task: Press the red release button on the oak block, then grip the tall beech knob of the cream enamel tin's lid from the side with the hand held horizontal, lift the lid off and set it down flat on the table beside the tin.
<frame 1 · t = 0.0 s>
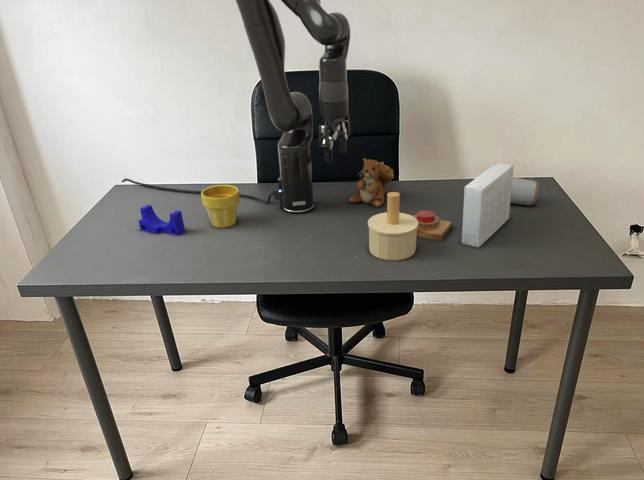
hand: (335, 157, 151), 17 cm above the table, tool pointing down, fingers open, 8 cm apart
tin: (392, 249, 139), on the table
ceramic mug: (520, 202, 164), on the table
skincare box: (484, 231, 148), on the table
flower pot: (224, 223, 156), on the table
button block: (425, 230, 149), on the table
blue cradle stand: (162, 231, 152), on the table
button: (425, 216, 147), point 4 cm above the table, slide at 0.1 cm
stuffed squirrel: (373, 199, 169), on the table
lid: (392, 224, 136), point 7 cm above the table, touching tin
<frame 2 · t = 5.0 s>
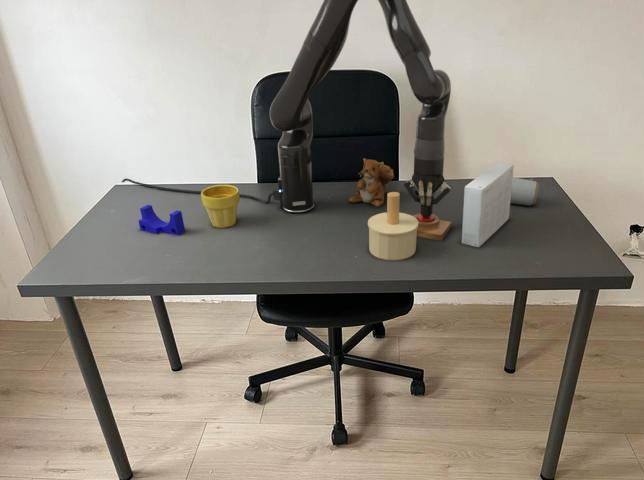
hand: (426, 216, 147), 4 cm above the table, tool pointing down, fingers closed
button: (425, 219, 147), point 3 cm above the table, slide at -0.8 cm, touching gripper
everything else where it was.
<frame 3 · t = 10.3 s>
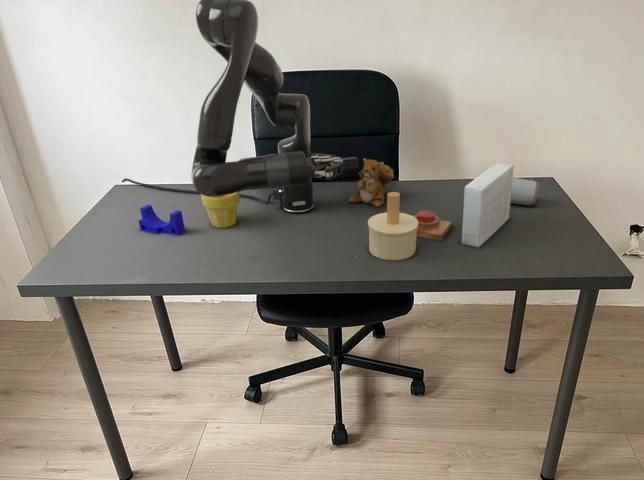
hand: (357, 162, 126), 24 cm above the table, tool horizontal, fingers closed
button: (425, 216, 147), point 4 cm above the table, slide at 0.1 cm
everything else where it was.
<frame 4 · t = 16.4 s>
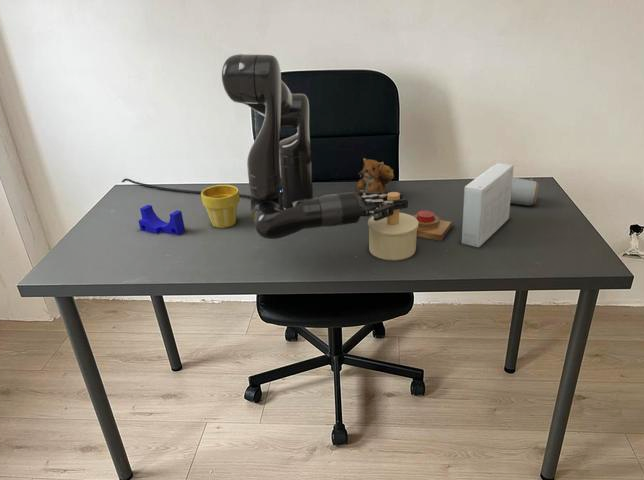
hand: (404, 200, 134), 13 cm above the table, tool horizontal, fingers closed on lid, 3 cm apart
lid: (392, 224, 136), point 7 cm above the table, touching gripper, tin
everything else where it was.
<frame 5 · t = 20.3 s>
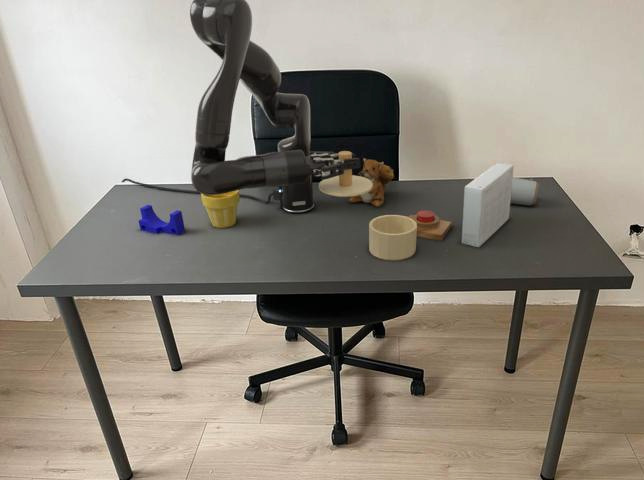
hand: (357, 160, 125), 25 cm above the table, tool horizontal, fingers closed on lid, 3 cm apart
lid: (345, 186, 127), point 19 cm above the table, touching gripper
everything else where it was.
when the fingers open (7 cm above the table, at t = 24.6 s): lid stays where it is, point 1 cm above the table.
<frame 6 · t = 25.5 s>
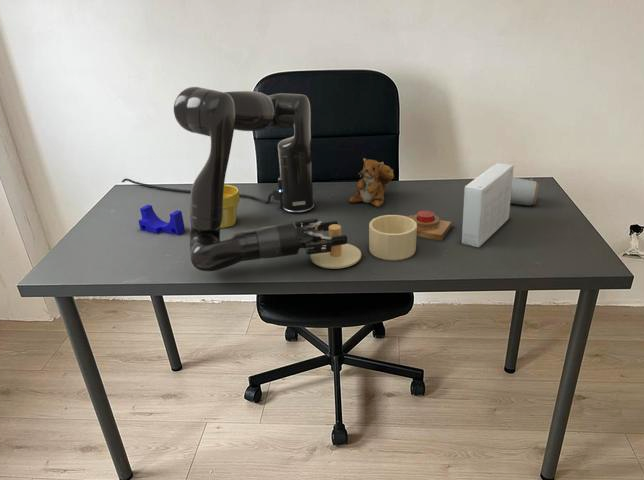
hand: (342, 231, 133), 7 cm above the table, tool horizontal, fingers open, 8 cm apart
lid: (335, 256, 135), point 1 cm above the table
everything else where it was.
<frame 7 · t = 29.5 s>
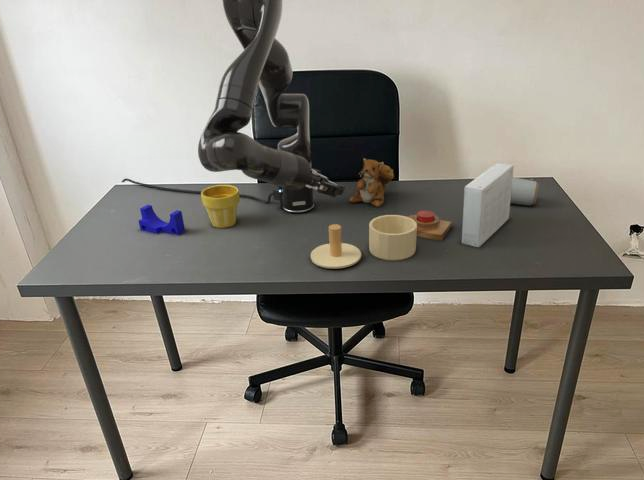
hand: (330, 182, 130), 19 cm above the table, tool tilted 65°, fingers open, 8 cm apart
nothing on the table moved.
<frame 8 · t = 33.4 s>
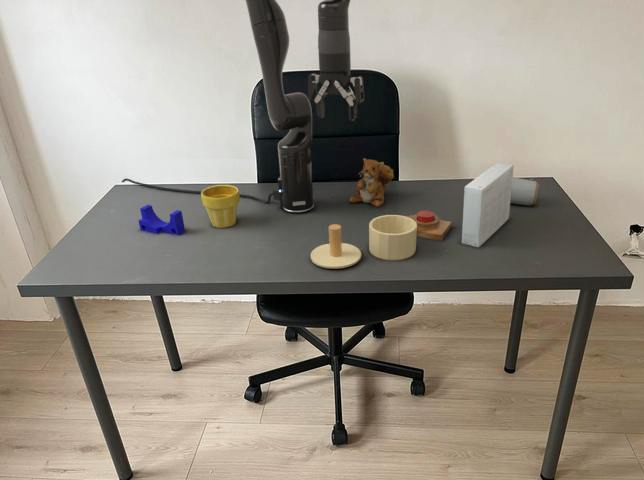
hand: (336, 119, 136), 30 cm above the table, tool pointing down, fingers open, 8 cm apart
nothing on the table moved.
at the end: button pushed in 1.2 cm at the most during the clip, back to where it started at the end; lid inside the target area (0.1 cm from its centre), point 0.6 cm above the table; lid tilted 0° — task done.
